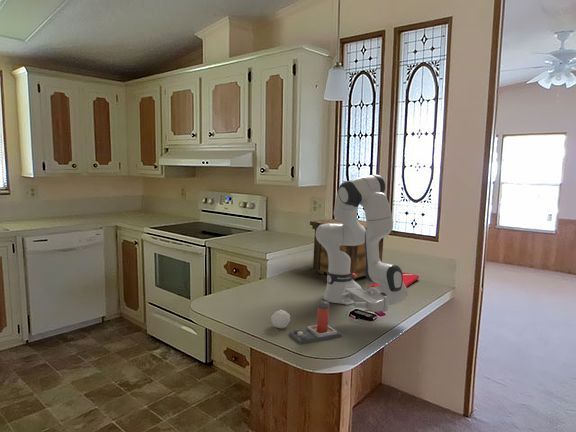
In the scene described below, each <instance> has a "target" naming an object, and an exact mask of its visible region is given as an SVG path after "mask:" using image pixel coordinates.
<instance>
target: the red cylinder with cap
mask: <svg viewBox="0 0 576 432" xmlns="http://www.w3.org/2000/svg"><path fill="white" fill-rule="evenodd" d="M329 313H330V302H329V301H327V300H325V299H324V300H319V301H318V303H317V318H316V325H317V332H319V333H325V332H327V330H328V325H329Z"/></svg>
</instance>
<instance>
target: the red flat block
mask: <svg viewBox="0 0 576 432" xmlns="http://www.w3.org/2000/svg"><path fill="white" fill-rule="evenodd" d="M402 273H403V283H404V285H405V286H406V287H407V288H408V287H409V286H410V285H412V284H413V283H414V282H416V281H418V279H419V278H420V276H419V275H418V274H413V273H408V272H404V271H402ZM379 285H380V284H376V283H372V284H371V285H370V286H368V287H367V288H366V290H367V289H368V288H369V287H375V286H379Z"/></svg>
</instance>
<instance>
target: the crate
mask: <svg viewBox="0 0 576 432" xmlns="http://www.w3.org/2000/svg"><path fill="white" fill-rule="evenodd" d="M357 220H358V222H359V223H360V224H361V225H362V226H363V227H364V228H365V229H366V230H367V223H366V220H361V219H357ZM328 223H334V224H342V223H340V222H339V221H338V220H337V219H336V218H330V219H321V220H320V219H319V220H310V221H309V226H312V227H311V229H313V230H314V241H313V260H312V269H313V270H316V271H317V273H319V274H322V275H327V271H328V265H329V262H328V254H327V251H326V249H325V248H324V247H323V246H322V245H321V244H320V243H319V242H318V241H317V239H316V230H317V228H318V226H319V225H322V224H328ZM384 238H385V237H384ZM384 238H382V239H380V241H379V258H380V261H381V262H382V263H383V252H384V251H383V250H384V249H383V248H384ZM339 248H340V250H341V251H343V252H344V253H346V254H348V255H349V256H350V259H351V265H350V272H351V273H352V274H353V273H354V274H356V275H357V277H356V278H354V277H352V278H353V280H354V281H355V280H356V279H357V278H361V277H366V275H365V268H366V251H365V242H364V244H362V245H356V246H342V245H341V246H340V247H339ZM355 282H356V281H355Z"/></svg>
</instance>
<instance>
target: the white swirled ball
mask: <svg viewBox="0 0 576 432" xmlns="http://www.w3.org/2000/svg"><path fill="white" fill-rule="evenodd" d="M270 321H271V323H272V325H273V326H274V327H275V328H277V329H285V328H286V327H288V325H289V324H290V321H291V315H290V313H288V311H286V310H283V309H279V310H276V311H274V313H272V314H271V317H270Z"/></svg>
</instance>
